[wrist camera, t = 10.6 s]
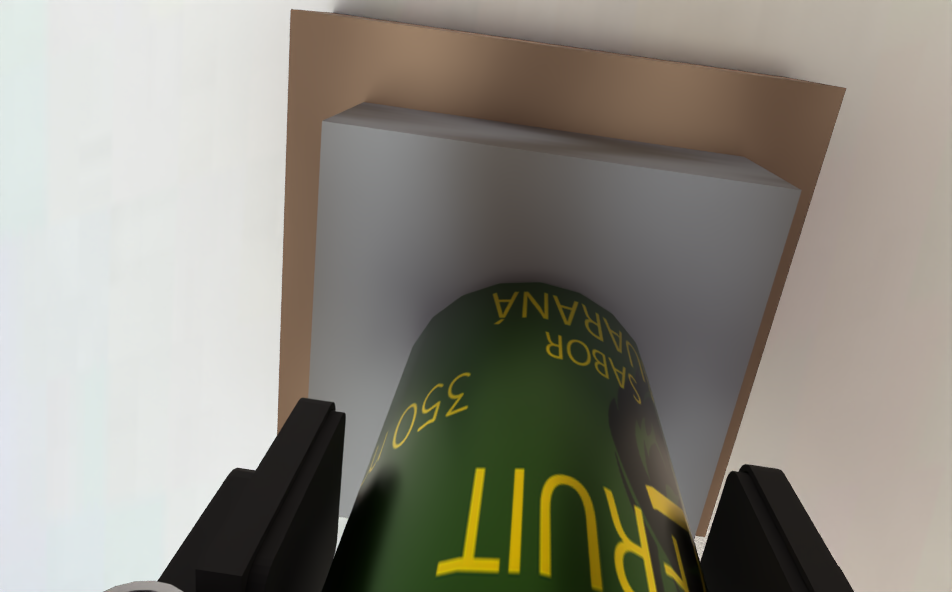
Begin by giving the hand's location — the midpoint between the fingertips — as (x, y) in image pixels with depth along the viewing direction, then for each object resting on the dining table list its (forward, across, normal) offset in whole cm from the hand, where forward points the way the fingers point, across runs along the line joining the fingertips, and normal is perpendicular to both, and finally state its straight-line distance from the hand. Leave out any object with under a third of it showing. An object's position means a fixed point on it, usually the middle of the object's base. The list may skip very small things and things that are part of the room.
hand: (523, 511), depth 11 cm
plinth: (+13, 0, 0) cm, 13 cm away
